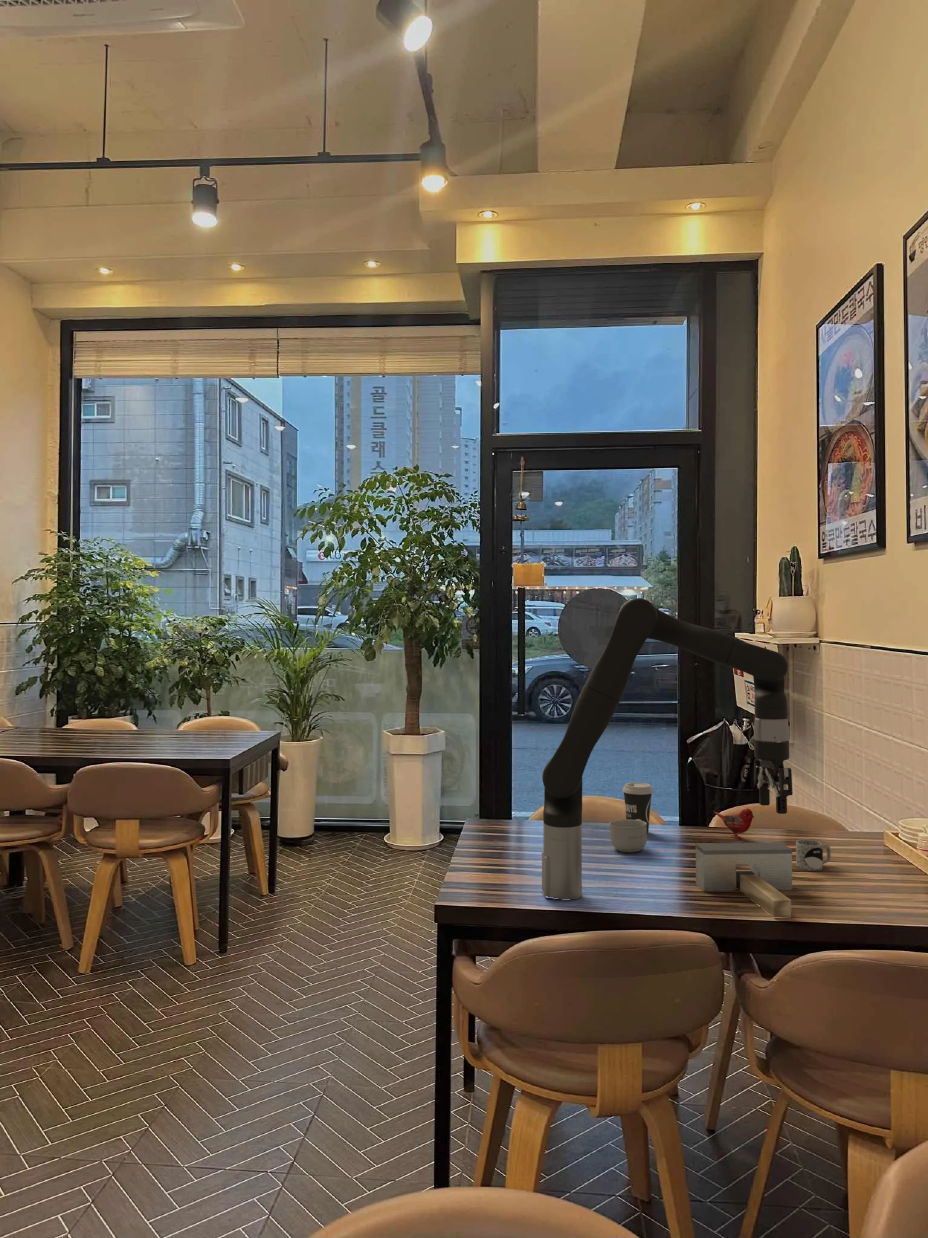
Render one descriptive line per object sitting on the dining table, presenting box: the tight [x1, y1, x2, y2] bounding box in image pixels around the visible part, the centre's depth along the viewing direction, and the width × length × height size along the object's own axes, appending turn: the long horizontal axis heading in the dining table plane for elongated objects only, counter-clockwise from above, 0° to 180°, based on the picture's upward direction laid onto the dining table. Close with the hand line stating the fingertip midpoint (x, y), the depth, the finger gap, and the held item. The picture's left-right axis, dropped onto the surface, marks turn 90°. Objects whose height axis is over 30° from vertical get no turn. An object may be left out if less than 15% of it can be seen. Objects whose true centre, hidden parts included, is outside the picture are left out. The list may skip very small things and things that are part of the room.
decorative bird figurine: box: [713, 808, 755, 840], centre depth 250 cm, size 3×18×10 cm, turn 24°
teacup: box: [608, 819, 648, 853], centre depth 237 cm, size 14×11×8 cm
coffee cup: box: [621, 782, 654, 835], centre depth 256 cm, size 10×10×15 cm
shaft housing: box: [695, 842, 793, 892], centre depth 202 cm, size 22×6×10 cm, turn 93°
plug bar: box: [736, 870, 792, 918], centre depth 191 cm, size 4×22×4 cm, turn 3°
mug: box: [795, 839, 832, 872], centre depth 219 cm, size 10×7×7 cm
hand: (772, 809), depth 185 cm, fingers open, 8 cm apart
